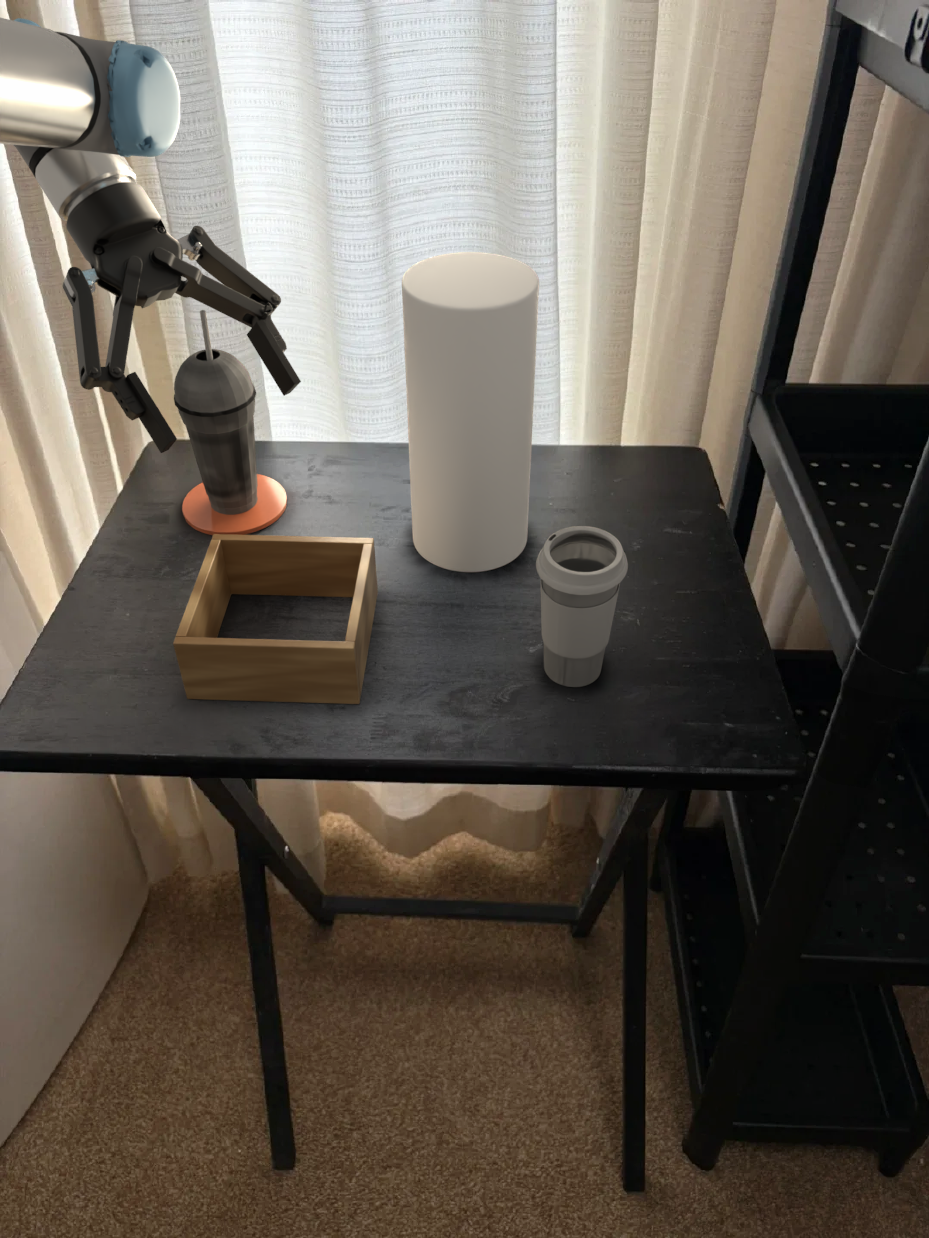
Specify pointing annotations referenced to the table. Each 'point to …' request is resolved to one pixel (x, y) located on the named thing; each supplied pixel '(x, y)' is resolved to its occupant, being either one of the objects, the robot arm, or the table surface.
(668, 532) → the table surface
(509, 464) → the tall pillar cylinder
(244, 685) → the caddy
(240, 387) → the beverage cup
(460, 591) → the table surface
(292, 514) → the table surface
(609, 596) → the cup
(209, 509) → the coaster
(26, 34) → the robot arm
